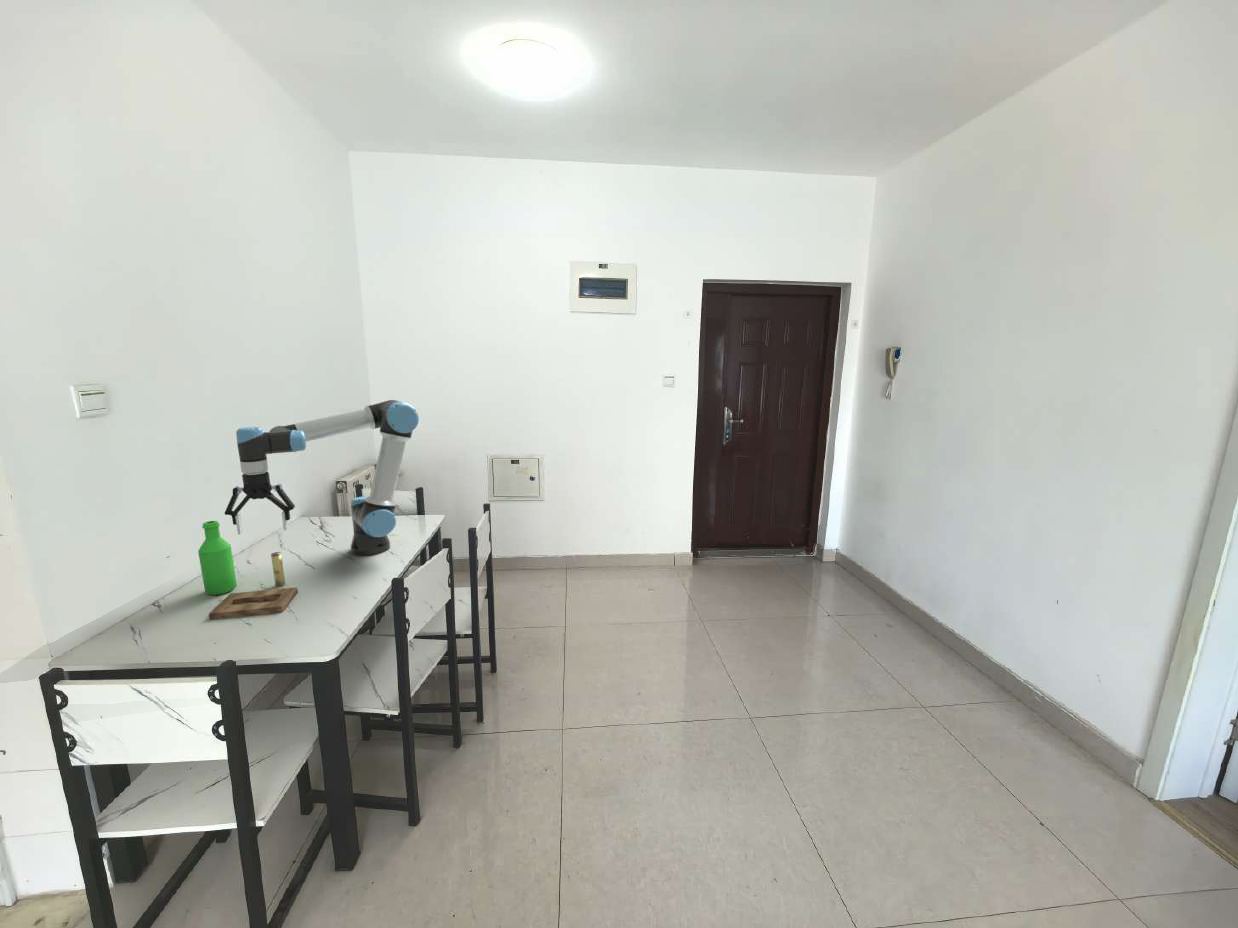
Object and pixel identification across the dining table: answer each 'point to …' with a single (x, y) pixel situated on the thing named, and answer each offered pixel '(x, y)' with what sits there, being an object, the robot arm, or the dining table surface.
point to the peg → (278, 569)
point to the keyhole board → (253, 603)
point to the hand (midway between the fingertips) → (263, 531)
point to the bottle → (216, 561)
